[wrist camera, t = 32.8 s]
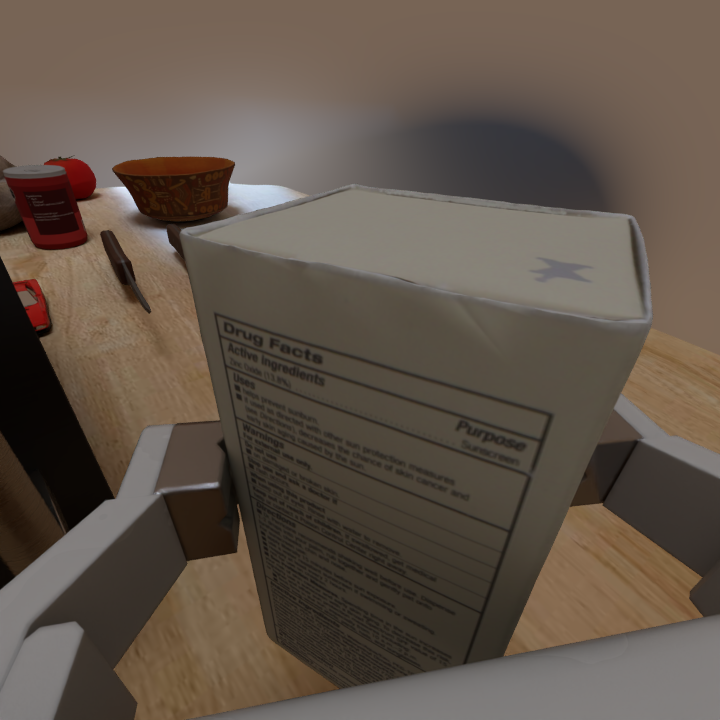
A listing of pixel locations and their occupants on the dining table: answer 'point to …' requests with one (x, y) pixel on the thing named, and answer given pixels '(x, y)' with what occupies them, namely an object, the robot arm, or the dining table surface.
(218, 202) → the bowl
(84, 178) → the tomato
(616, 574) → the dining table surface
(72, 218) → the canned food
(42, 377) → the cupboard door
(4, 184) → the rock
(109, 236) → the knife set
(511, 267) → the white carton box
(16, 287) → the toy car
